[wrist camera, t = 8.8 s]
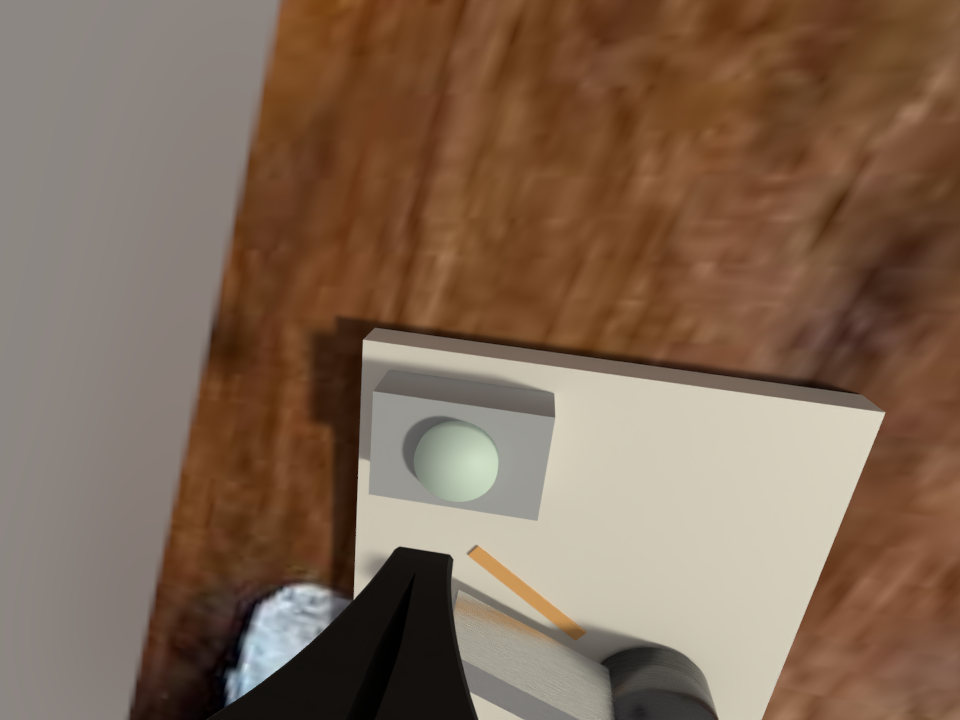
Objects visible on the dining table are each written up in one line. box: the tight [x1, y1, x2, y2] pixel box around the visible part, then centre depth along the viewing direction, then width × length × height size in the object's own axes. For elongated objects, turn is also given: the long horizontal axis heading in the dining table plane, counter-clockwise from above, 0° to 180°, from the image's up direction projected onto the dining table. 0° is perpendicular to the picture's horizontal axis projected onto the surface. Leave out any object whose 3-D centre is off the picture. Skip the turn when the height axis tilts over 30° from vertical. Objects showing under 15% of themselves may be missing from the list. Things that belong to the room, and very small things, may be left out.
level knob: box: [452, 589, 719, 720], centre depth 22 cm, size 12×5×4 cm, turn 61°
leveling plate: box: [354, 328, 885, 720], centre depth 22 cm, size 18×18×4 cm
